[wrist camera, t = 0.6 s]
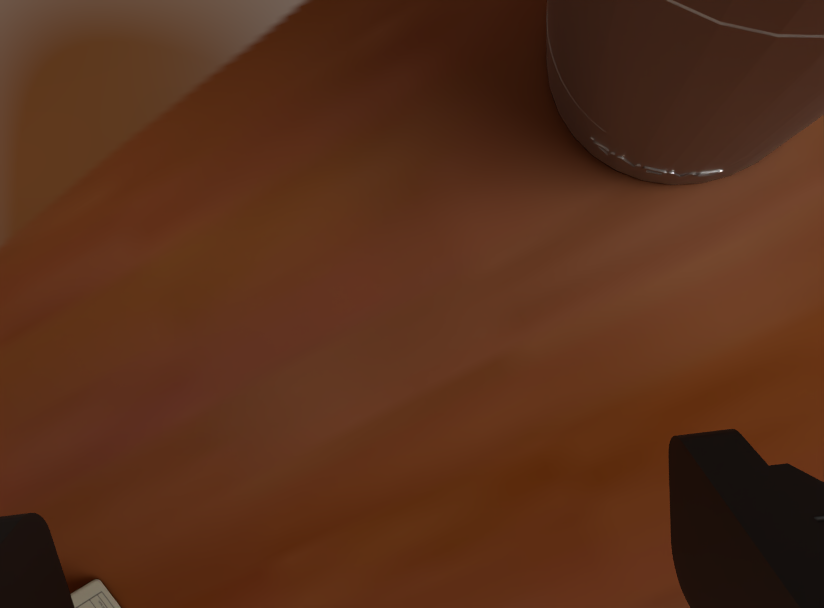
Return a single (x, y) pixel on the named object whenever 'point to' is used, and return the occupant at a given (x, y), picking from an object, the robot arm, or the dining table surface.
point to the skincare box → (93, 596)
